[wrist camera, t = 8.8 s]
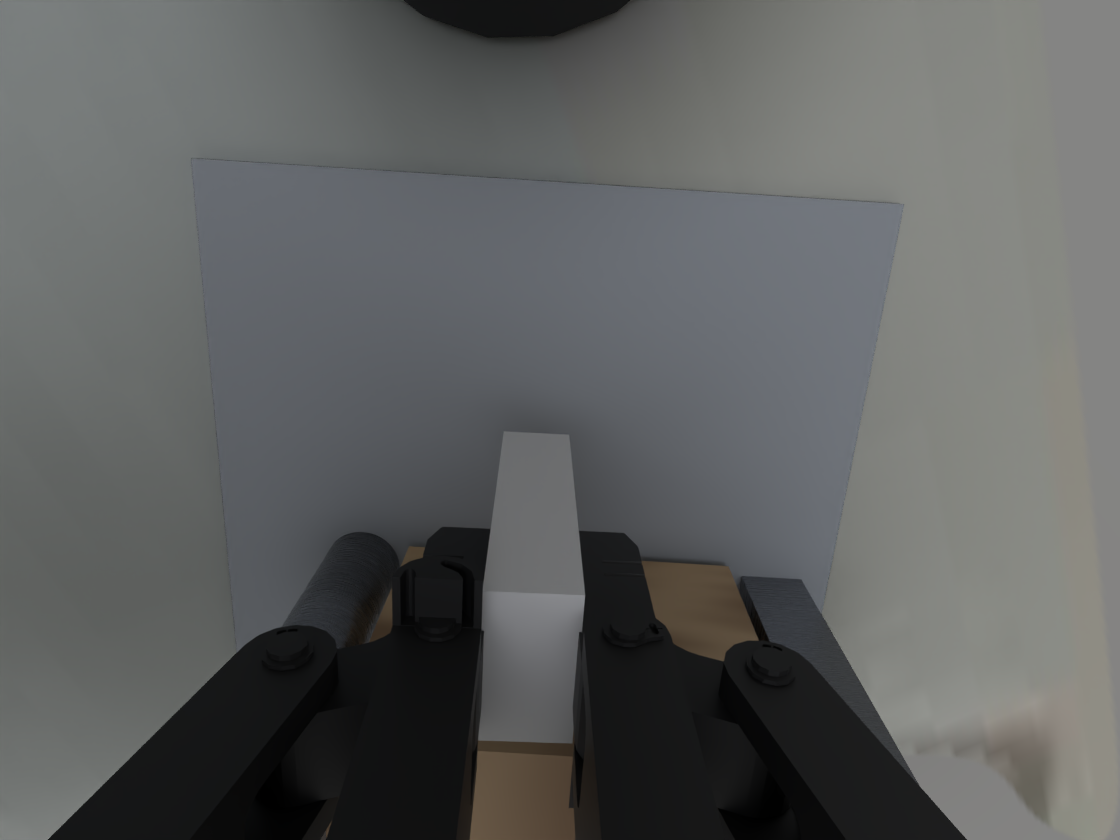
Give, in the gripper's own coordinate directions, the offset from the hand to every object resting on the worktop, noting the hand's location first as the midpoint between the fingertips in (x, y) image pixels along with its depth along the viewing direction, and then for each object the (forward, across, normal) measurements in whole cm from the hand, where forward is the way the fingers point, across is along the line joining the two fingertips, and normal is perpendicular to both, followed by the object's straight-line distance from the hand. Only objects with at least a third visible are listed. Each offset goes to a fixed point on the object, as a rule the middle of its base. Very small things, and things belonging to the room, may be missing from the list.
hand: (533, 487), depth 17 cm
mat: (+6, 0, -2) cm, 7 cm away
